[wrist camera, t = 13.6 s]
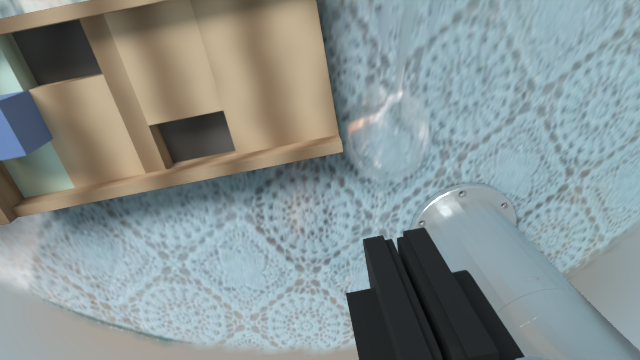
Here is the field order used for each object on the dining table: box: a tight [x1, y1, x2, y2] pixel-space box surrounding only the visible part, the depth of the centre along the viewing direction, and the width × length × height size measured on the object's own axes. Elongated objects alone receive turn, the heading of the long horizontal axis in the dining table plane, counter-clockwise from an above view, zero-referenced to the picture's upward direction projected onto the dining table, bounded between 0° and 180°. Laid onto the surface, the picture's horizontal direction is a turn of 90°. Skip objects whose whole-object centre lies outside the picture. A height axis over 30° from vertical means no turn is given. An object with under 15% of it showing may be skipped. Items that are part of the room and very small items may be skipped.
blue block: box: [0, 90, 53, 161], centre depth 32 cm, size 4×4×4 cm
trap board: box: [0, 0, 343, 225], centre depth 34 cm, size 32×16×6 cm, turn 101°
